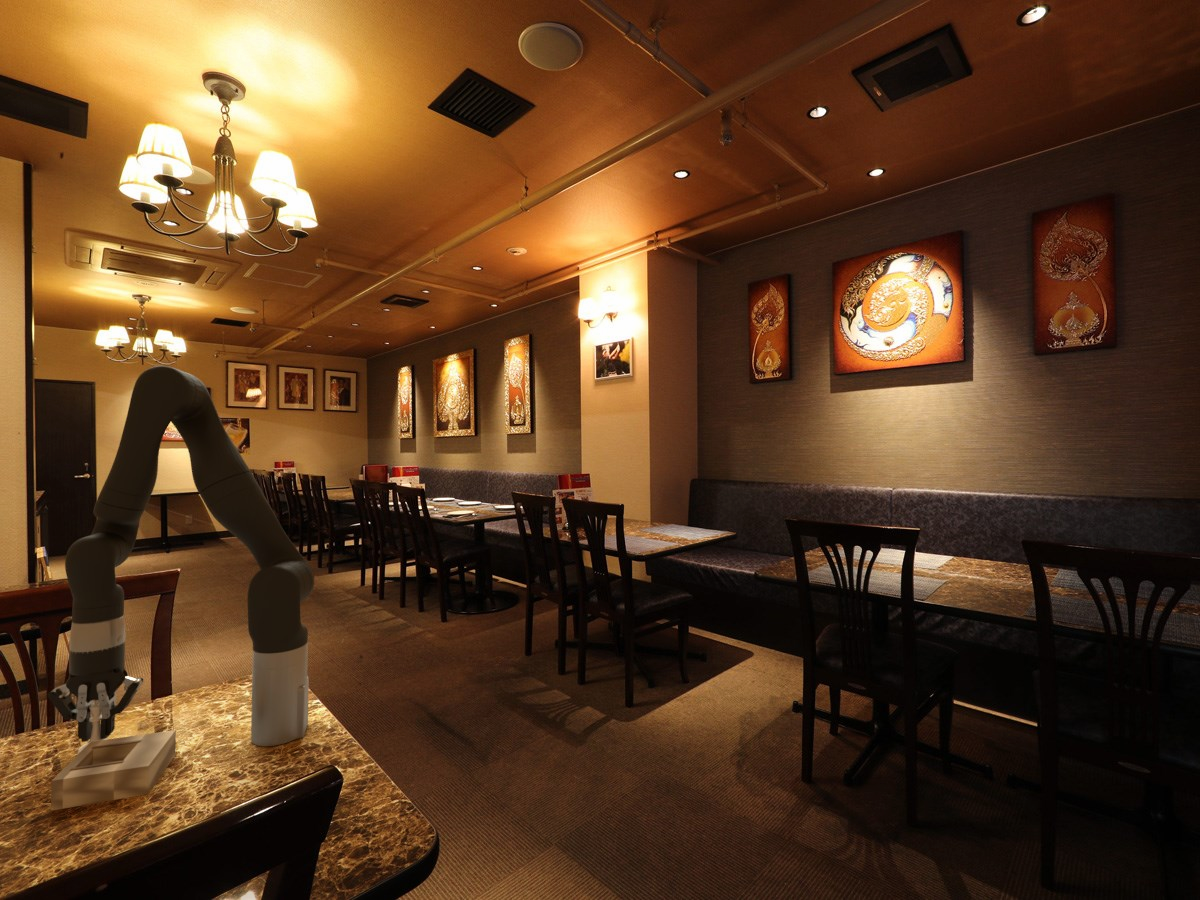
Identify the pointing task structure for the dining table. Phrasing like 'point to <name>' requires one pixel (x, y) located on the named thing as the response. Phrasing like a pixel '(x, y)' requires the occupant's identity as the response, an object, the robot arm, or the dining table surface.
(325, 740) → the dining table surface
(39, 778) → the dining table surface
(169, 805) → the dining table surface
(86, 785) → the socket block
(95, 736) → the chess piece
